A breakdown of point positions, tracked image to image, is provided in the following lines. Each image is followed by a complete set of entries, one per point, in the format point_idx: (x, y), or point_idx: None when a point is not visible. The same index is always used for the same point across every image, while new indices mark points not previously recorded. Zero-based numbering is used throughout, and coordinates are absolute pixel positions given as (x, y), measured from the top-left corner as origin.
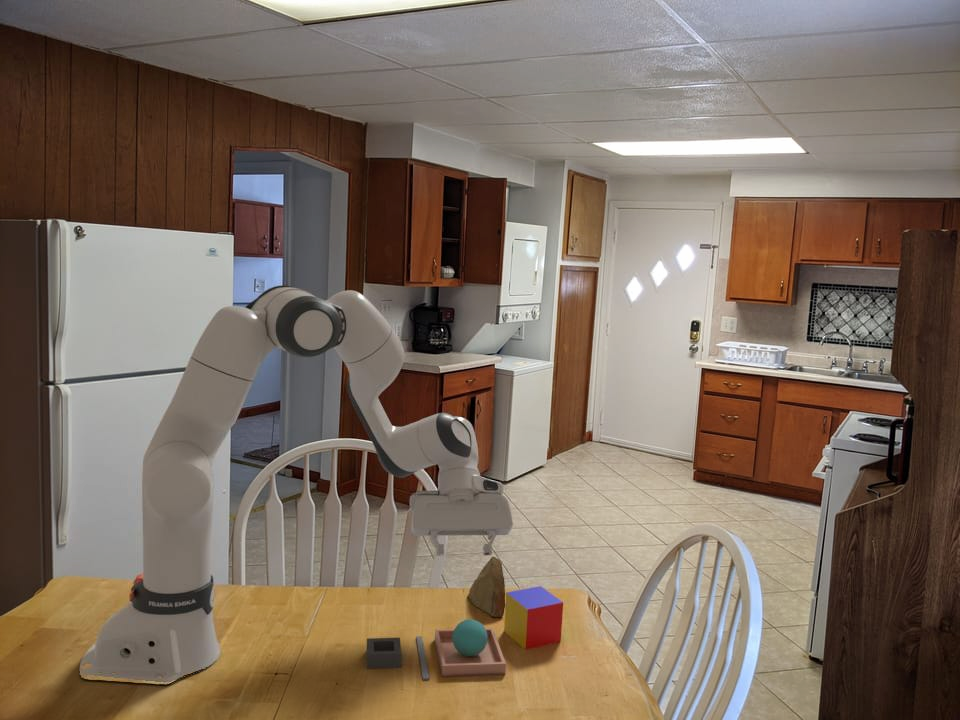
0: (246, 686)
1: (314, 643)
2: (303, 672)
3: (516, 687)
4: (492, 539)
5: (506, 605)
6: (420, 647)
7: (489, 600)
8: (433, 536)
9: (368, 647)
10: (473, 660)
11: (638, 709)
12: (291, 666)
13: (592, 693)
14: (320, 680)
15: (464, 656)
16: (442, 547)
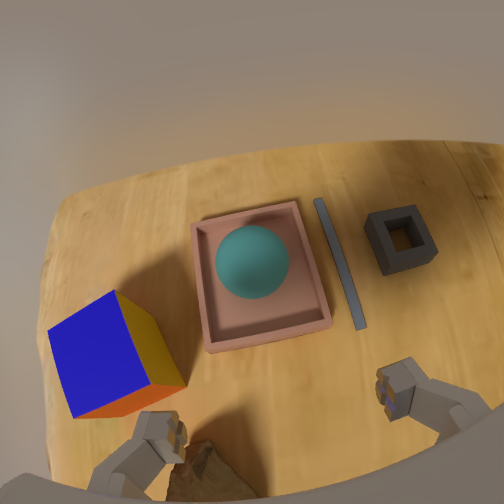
0: (489, 174)
1: (493, 271)
2: (466, 201)
3: (183, 205)
4: (118, 454)
5: (162, 381)
6: (350, 287)
7: (213, 472)
8: (462, 396)
9: (423, 224)
10: None
11: (69, 197)
12: (483, 211)
13: (96, 213)
14: (442, 187)
15: None
16: (394, 379)
